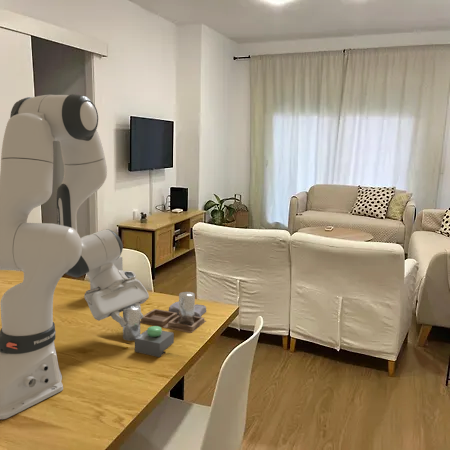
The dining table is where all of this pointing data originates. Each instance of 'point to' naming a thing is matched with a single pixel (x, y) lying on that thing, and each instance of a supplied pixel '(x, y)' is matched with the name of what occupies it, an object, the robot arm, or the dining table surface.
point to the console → (153, 343)
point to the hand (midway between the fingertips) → (133, 321)
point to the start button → (154, 331)
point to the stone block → (198, 312)
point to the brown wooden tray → (170, 320)
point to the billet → (131, 322)
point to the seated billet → (186, 308)
